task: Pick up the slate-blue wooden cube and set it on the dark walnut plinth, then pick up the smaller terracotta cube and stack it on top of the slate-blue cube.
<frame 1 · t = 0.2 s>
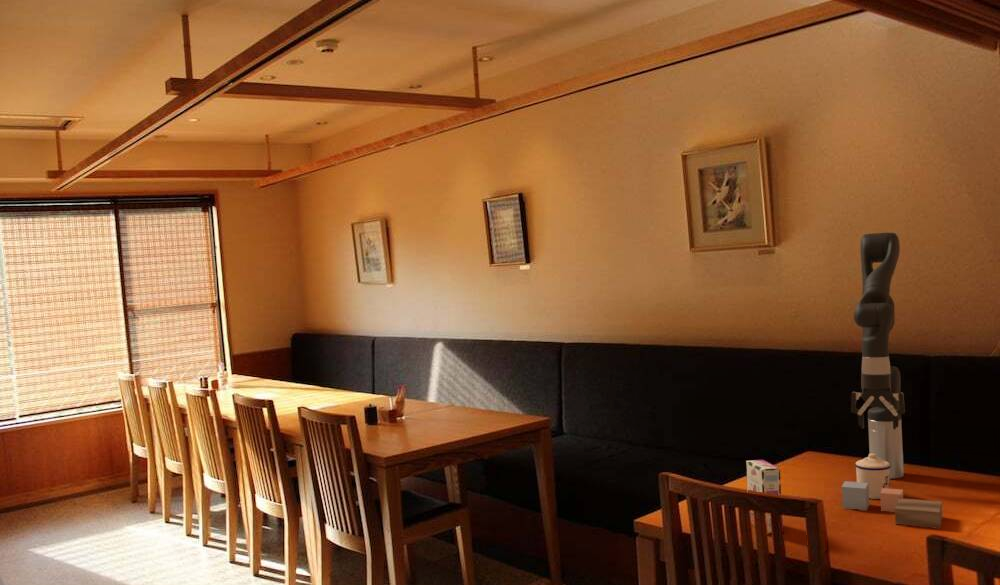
hand: (878, 428, 250), 17 cm above the table, tool pointing down, fingers open, 8 cm apart
terracotta block: (892, 509, 229), on the table
walnut plinth: (919, 520, 219), on the table
slate block: (855, 506, 234), on the table
teacup with lid: (874, 494, 244), on the table
candy bar box: (765, 528, 220), on the table
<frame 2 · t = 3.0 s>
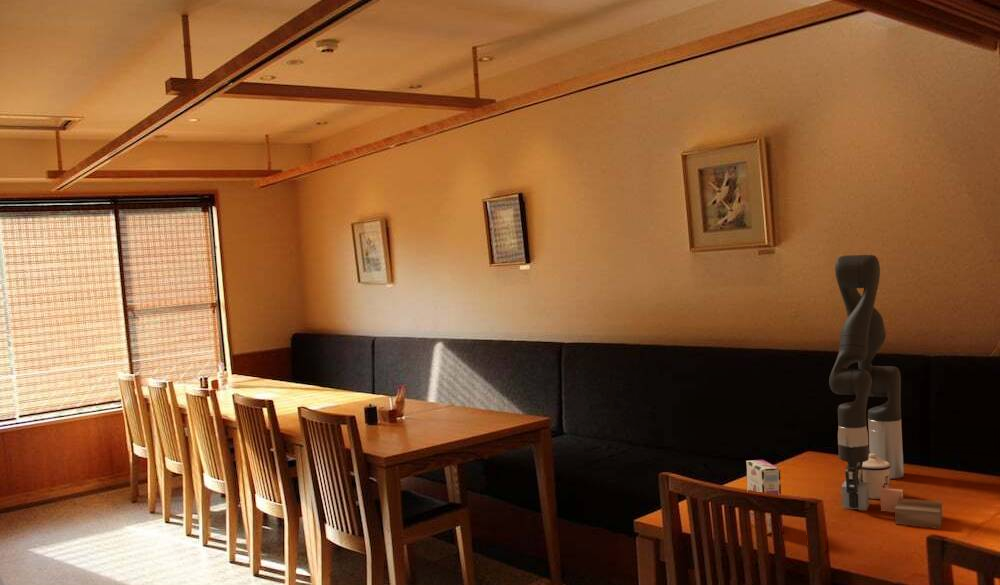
hand: (855, 503, 234), 1 cm above the table, tool pointing down, fingers closed on slate block, 6 cm apart
slate block: (855, 506, 234), on the table, touching gripper
everything else where it was.
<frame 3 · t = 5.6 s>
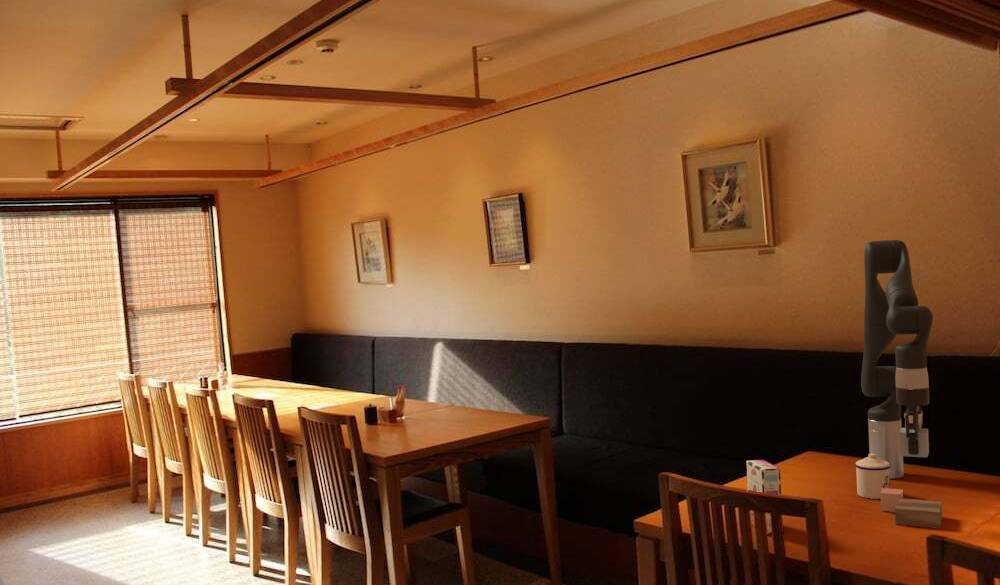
hand: (915, 451, 218), 18 cm above the table, tool pointing down, fingers closed on slate block, 6 cm apart
slate block: (914, 454, 218), point 17 cm above the table, touching gripper
everything else where it was.
when the fingers open (6 cm above the table, at t = 8.3 s): slate block drops 1 cm, resting on walnut plinth.
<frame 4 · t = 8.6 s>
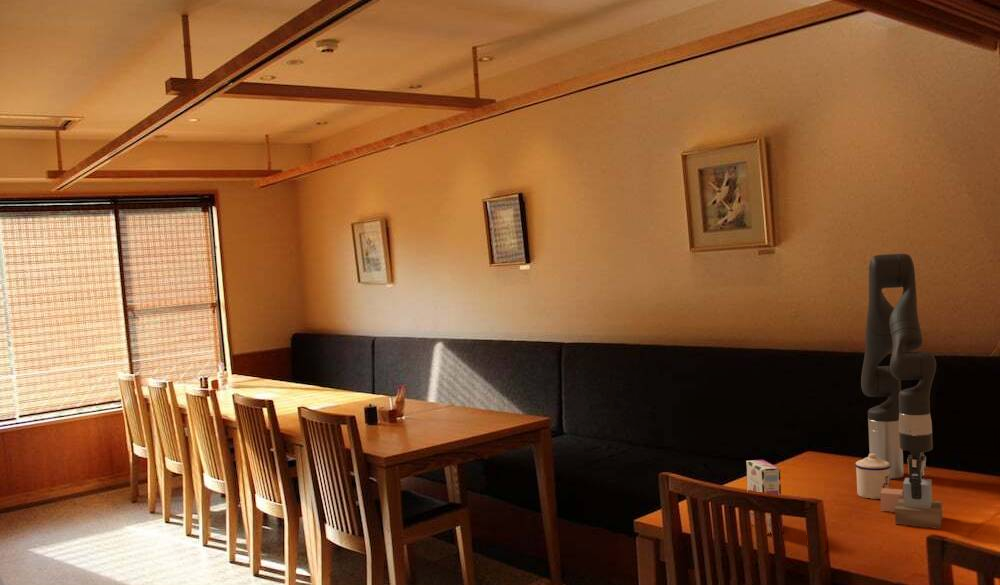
hand: (918, 494, 219), 7 cm above the table, tool pointing down, fingers open, 8 cm apart
slate block: (918, 504, 219), point 4 cm above the table, touching walnut plinth
everything else where it was.
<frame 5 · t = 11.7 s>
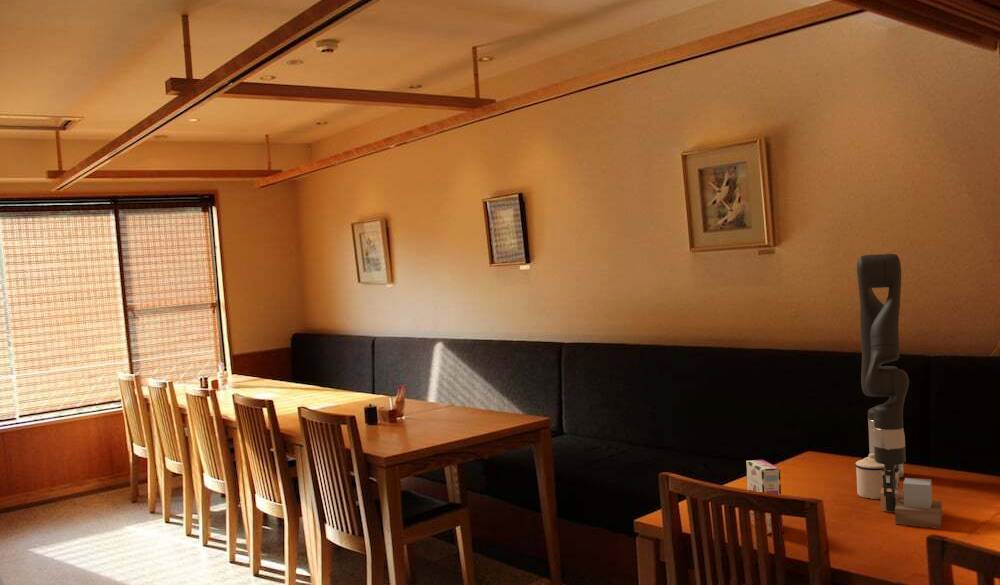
hand: (892, 507, 229), 0 cm above the table, tool pointing down, fingers closed on terracotta block, 5 cm apart
terracotta block: (892, 509, 229), on the table, touching gripper
everything else where it was.
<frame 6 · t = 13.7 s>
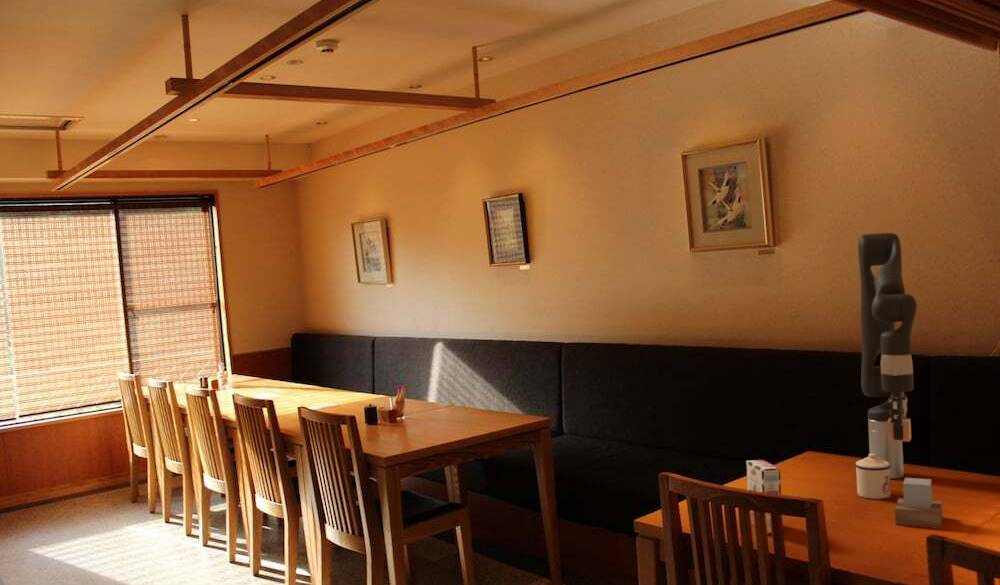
hand: (899, 437, 223), 20 cm above the table, tool pointing down, fingers closed on terracotta block, 5 cm apart
terracotta block: (899, 439, 223), point 20 cm above the table, touching gripper
everything else where it was.
when the fingers open (11 cm above the table, at t = 15.9 s): terracotta block stays where it is, resting on slate block.
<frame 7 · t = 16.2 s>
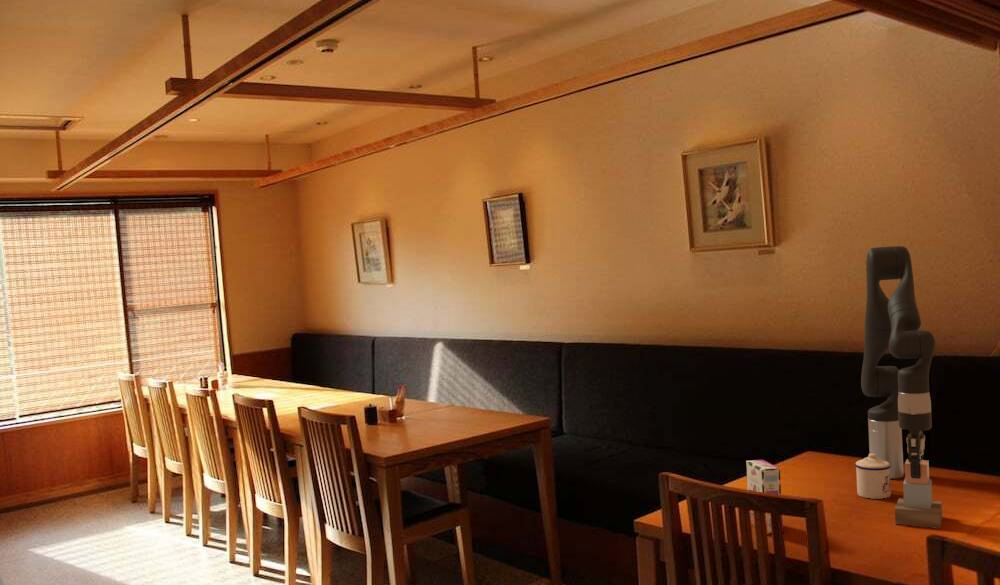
hand: (917, 474, 219), 12 cm above the table, tool pointing down, fingers open, 7 cm apart
terracotta block: (917, 481, 219), point 10 cm above the table, touching slate block
slate block: (918, 504, 219), point 4 cm above the table, touching terracotta block, walnut plinth
everything else where it was.
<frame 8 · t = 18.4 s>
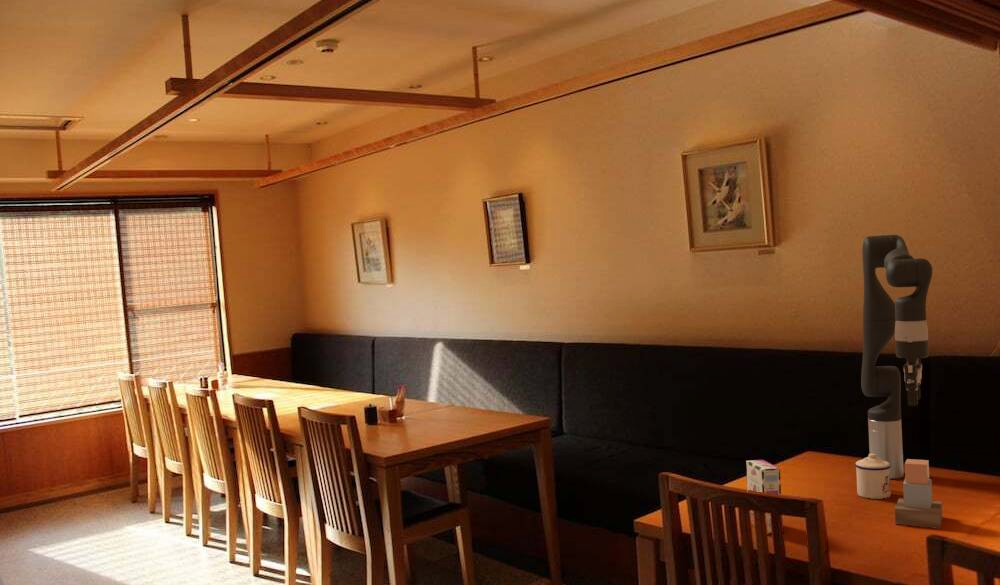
hand: (914, 402, 218), 30 cm above the table, tool pointing down, fingers open, 8 cm apart
nothing on the table moved.
at the end: slate block inside the target area on the walnut plinth (0.1 cm from its centre), point 4.0 cm above the walnut plinth's base; terracotta block 0.1 cm off-centre on the slate block, point 6.0 cm above the slate block's base; terracotta block tilted 0° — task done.
